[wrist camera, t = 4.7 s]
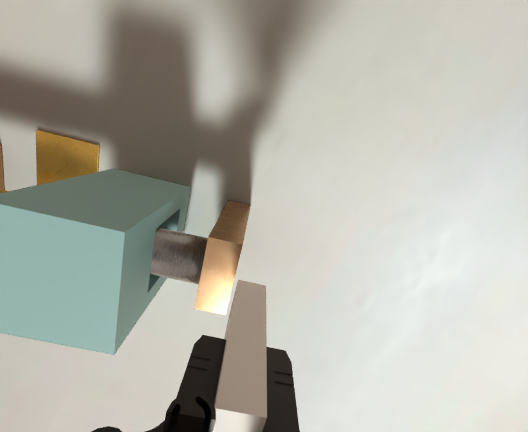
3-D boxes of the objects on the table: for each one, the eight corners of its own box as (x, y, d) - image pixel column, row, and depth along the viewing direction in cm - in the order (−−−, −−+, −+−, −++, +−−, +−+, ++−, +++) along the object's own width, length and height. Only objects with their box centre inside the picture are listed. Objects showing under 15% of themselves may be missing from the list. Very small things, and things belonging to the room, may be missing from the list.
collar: (109, 246, 22) (-12, 330, 12) (114, 168, 20) (-25, 198, 10) (178, 261, 22) (114, 354, 13) (190, 187, 20) (124, 232, 11)
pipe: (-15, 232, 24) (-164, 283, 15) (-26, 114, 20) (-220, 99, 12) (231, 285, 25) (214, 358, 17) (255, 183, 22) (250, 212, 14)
